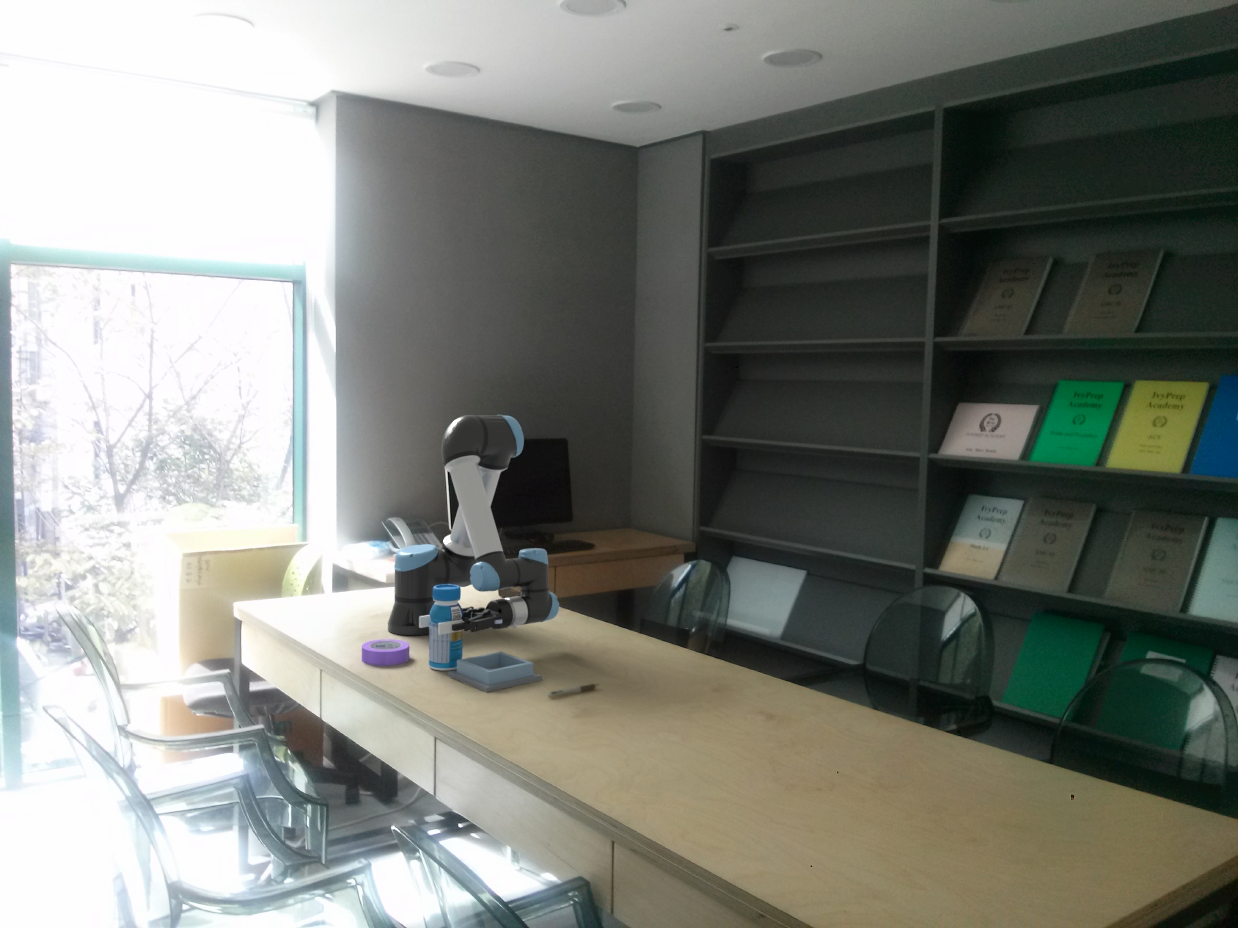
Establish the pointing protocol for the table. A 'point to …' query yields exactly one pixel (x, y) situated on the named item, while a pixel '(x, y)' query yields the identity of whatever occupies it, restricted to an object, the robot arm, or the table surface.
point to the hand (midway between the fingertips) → (429, 625)
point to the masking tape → (385, 652)
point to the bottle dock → (494, 671)
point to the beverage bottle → (451, 644)
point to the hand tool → (508, 593)
